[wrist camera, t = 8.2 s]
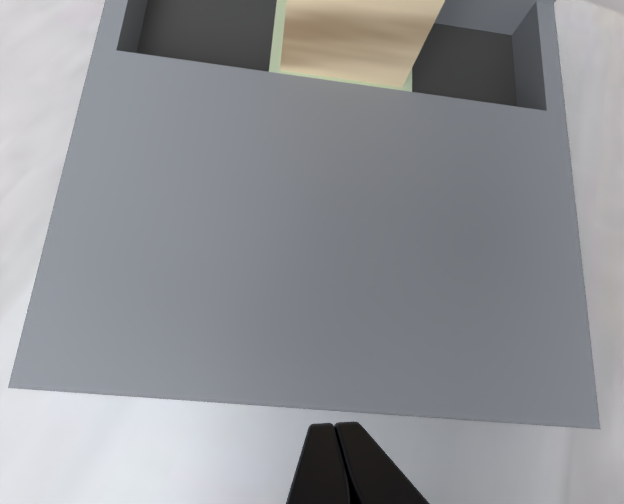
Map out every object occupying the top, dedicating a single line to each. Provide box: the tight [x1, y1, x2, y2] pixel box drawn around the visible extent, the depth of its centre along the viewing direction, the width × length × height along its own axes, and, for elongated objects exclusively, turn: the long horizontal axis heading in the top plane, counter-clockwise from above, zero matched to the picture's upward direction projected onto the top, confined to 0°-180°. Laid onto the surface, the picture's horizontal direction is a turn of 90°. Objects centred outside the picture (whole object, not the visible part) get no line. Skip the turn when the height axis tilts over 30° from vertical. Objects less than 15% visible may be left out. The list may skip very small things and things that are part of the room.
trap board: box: [8, 0, 600, 429], centre depth 23 cm, size 23×23×4 cm
